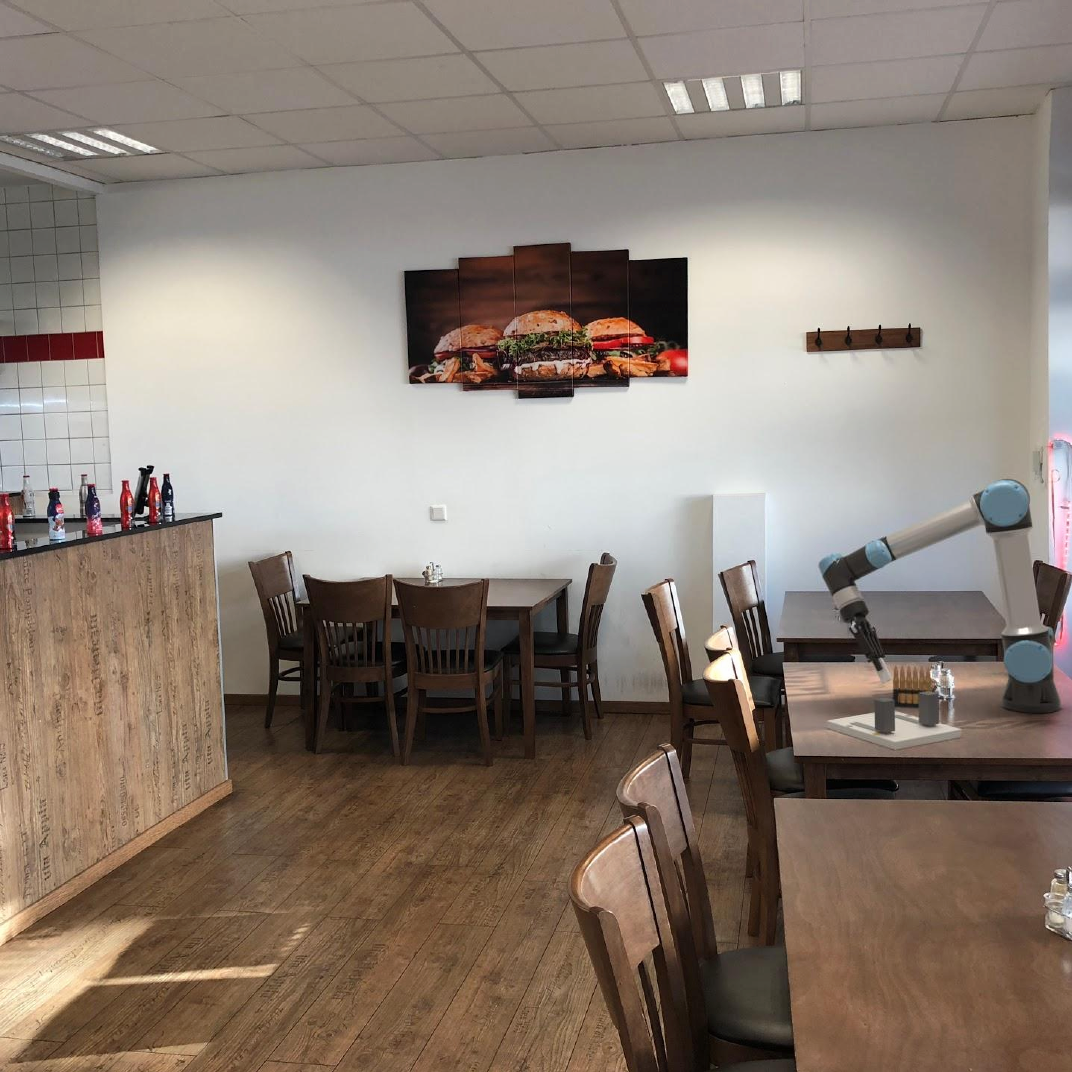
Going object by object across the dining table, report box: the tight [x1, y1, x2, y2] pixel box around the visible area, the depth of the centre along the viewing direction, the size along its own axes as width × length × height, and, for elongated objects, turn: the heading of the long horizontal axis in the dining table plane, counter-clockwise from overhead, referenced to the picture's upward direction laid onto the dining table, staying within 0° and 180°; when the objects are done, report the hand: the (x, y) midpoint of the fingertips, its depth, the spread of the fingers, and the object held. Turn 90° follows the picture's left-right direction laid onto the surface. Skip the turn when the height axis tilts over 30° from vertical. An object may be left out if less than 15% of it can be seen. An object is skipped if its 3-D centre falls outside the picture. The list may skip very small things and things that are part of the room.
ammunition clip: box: [892, 664, 933, 709], centre depth 321 cm, size 11×2×12 cm, turn 66°
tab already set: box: [873, 697, 896, 733], centre depth 287 cm, size 4×4×8 cm
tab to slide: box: [918, 691, 940, 726], centre depth 292 cm, size 4×4×8 cm
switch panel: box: [826, 710, 963, 751], centre depth 295 cm, size 26×22×2 cm
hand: (887, 681), depth 308 cm, fingers closed
